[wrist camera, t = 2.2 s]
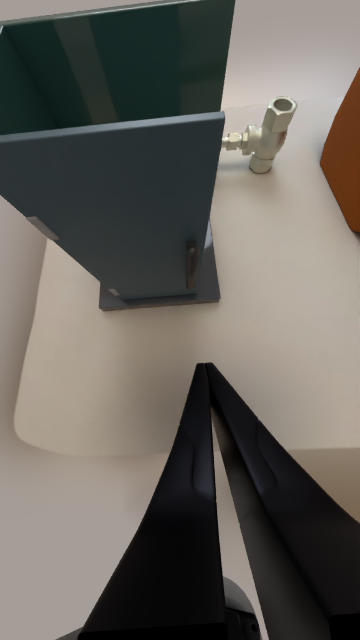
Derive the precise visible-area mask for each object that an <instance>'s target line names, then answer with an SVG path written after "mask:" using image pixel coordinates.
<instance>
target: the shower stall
mask: <svg viewBox="0 0 360 640" xmlns="http://www.w3.org/2000/svg"><path fill="white" fill-rule="evenodd" d="M234 6H235V0H163V1H155V2H148V3H140V4H133V5H124V6H116V7H109V8H101V9H94V10H85V11H77V12H70V13H62V14H54V15H46V16H38V17H30V18H23V19H15V20H7V21H0V135H9V134H18V133H28V132H37V131H46V130H55V129H64V128H74V127H83V126H92V125H101V124H110V123H120V122H129V121H138V120H147V119H156V118H165V117H175V116H184V115H193V114H202V113H211V112H220V109H221V102H222V94H223V87H224V80H225V72H226V65H227V57H228V50H229V43H230V36H231V28H232V21H233V14H234ZM219 300H220V292H219V284H218V277H217V270H216V262H215V255H214V248H213V240H212V233H211V226H210V219H209V223H208V229H207V235H206V241H205V247H204V253H203V260H202V266H201V272H200V278H199V284H198V290H197V294H186V295H174V296H161V297H149V298H136V299H123V300H121V299H119V298H118V297H117V296H115V295H114V294H113V293H112V292H110V291H109V289H108V288H107V287H106V286H104V285H103V284H102V283H101V282H100V298H99V309H101V310H103V311H109V310H122V309H135V308H148V307H161V306H174V305H186V304H199V303H212V302H219Z"/></svg>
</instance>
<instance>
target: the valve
mask: <svg viewBox="0 0 360 640" xmlns="http://www.w3.org/2000/svg"><path fill="white" fill-rule="evenodd" d="M296 108H297V103H296V102H295V101H294V100H293V99H292V98H289V97H284V96H281V97H276V98H274V99H272V101H271V103H270V104H269V106H268V108H267V111H266V114H265V117H264V121H263V124H262V126H261V127H260V128H256V125H248V126H247V128H246V131H245V132H244V133H242V134H241V136H238V134H239V133H231V134H228V137H226V138H222V142H221V148H224V147H226V150H236V148H237V147H239V150H241V149H242V155H250V154H251V152H254V153H253V154H252V158H251V161H250V164H249V167H250V168H251V169H252V170H253V171H254V172H256V173H265V172H268V170H269V168H270V166H271V164H272V162H273V160H274V158H275V155H276V154H277V153H278V152H279V150H280V149H281V147H282V146H283V144H284V141H285V139H286V135H287V127H288V125H289V123H290V121H291V119H292V117H293V115H294V112H295V110H296ZM220 151H221V149H220Z"/></svg>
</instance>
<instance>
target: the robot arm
mask: <svg viewBox="0 0 360 640" xmlns="http://www.w3.org/2000/svg"><path fill="white" fill-rule="evenodd" d="M211 416H212V420H213V424H214V427H215V431H216V435H217V439H218V443H219V447H220V451H221V455H222V458H223V462H224V466H225V470H226V474H227V478H228V482H229V486H230V490H231V494H232V497H233V501H234V505H235V509H236V513H237V517H238V521H239V523H240V529H241V533H242V536H243V540H244V544H245V548H246V552H247V556H248V560H249V564H250V568H251V571H252V575H253V579H254V583H255V587H256V590H257V595H258V598H259V602H260V606H261V610H262V614H263V618H264V622H265V626H266V629H267V634H268V637H269V640H360V523H359V522H358V521H356V520H355V519H354V518H353V517H351V516H350V515H349V514H348V513H347V512H346V511H345V510H344V509H342V508H341V507H340V506H339V505H338V504H337V503H336V502H335V501H334V500H333V499H332V498H331V497H330V496H329V495H328V494H327V493H326V492H325V491H324V490H323V489H322V488H321V487H320V486H319V485H318V483H317V482H316V481H315V480H314V479H313V478H312V477H311V476H310V475H309V474H308V473H307V472H306V471H305V470H304V469H303V468H302V467H301V466H300V465H299V464H298V463H297V462H296V461H295V460H294V459H293V458H292V456H291V455H290V454H289V453H288V452H287V451H286V450H285V449H284V448H283V447H282V446H281V445H280V444H279V443H278V441H277V440H276V439H275V438H274V437H273V436H272V434H271V433H270V432H269V431H268V430H267V429H266V427H265V426H264V425H263V424H262V422H261V421H260V420H258V418H257V416H256V415H255V414H254V413H253V412H252V410H251V409H250V408H249V407H248V405H247V404H246V403H245V402H244V401H243V399H242V398H241V397H240V396H239V395H238V393H237V392H236V391H235V390H234V388H233V387H232V386H231V385H230V384H229V382H228V381H227V380H226V379H225V377H224V376H223V375H222V374H221V373H220V371H219V370H218V369H217V368H216V366H215V365H214V364H213V363H212V362H209V363H205V364H204V363H197V365H196V368H195V372H194V375H193V379H192V382H191V386H190V389H189V393H188V396H187V400H186V403H185V407H184V410H183V414H182V417H181V420H180V425H179V427H178V430H177V434H176V437H175V440H174V443H173V446H172V449H171V452H170V454H169V457H168V460H167V463H166V465H165V467H164V470H163V472H162V475H161V477H160V479H159V482H158V485H157V487H156V489H155V492H154V494H153V496H152V499H151V501H150V504H149V506H148V508H147V511H146V513H145V515H144V517H143V519H142V521H141V523H140V526H139V528H138V530H137V532H136V534H135V535H134V537H133V539H132V541H131V543H130V545H129V546H128V548H127V550H126V551H125V553H124V555H123V557H122V559H121V560H120V562H119V564H118V566H117V568H116V569H115V571H114V573H113V575H112V576H111V578H110V580H109V582H108V584H107V585H106V587H105V589H104V591H103V593H102V594H101V596H100V598H99V599H98V601H97V603H96V605H95V607H94V609H93V610H92V612H91V614H90V615H89V617H88V619H87V621H86V623H85V625H84V626H83V627H81V628H79V629H77V630H75V631H73V632H71V633H69V634H67V635H65V636H62V637H60V638H58V639H56V640H260V629H259V624H258V620H257V617H256V615H255V614H254V613H251V612H246V611H242V610H237V609H232V608H227V607H225V596H224V585H223V575H222V565H221V553H220V543H219V531H218V519H217V503H216V487H215V469H214V453H213V436H212V420H211Z"/></svg>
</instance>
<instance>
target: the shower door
mask: <svg viewBox="0 0 360 640" xmlns="http://www.w3.org/2000/svg"><path fill="white" fill-rule="evenodd" d="M224 124H225V115H224V112H223V111H221V112H211V113H202V114H193V115H184V116H175V117H165V118H156V119H147V120H138V121H129V122H120V123H110V124H101V125H92V126H83V127H74V128H64V129H55V130H46V131H37V132H28V133H18V134H9V135H0V195H1V196H2V197H3V198H4V199H6V200H7V201H8V202H9V203H10V204H11V205H13V206H14V207H15V208H16V209H17V210H18V211H19V212H21V213H22V214H23V215H24V216H25V217H26V219H27V220H28V221H29V222H31V224H33V225H34V226H35V227H36V228H37V229H39V230H40V231H41V232H42V233H43V234H44V235H45V236H47V237H48V238H49V239H50V240H53V241H54V242H55V243H56V244H57V245H58V246H60V247H61V248H62V249H63V250H64V251H65V252H67V253H68V254H69V255H70V256H71V257H72V258H73V259H75V260H76V261H77V262H78V263H79V264H80V265H81V266H83V267H84V268H85V269H86V270H87V271H88V272H90V273H91V274H92V275H93V276H94V277H95V278H96V279H98V280H99V281H100V282H101V283H102V284H103V285H104V286H106V287H107V288H108V289H109V291H110V292H112V293H113V294H114V295H115V296H117V297H118V298H119V299H121V300H123V299H136V298H149V297H161V296H174V295H186V294H197V290H198V284H199V278H200V272H201V266H202V260H203V253H204V247H205V241H206V235H207V229H208V223H209V216H210V210H211V204H212V198H213V192H214V186H215V179H216V173H217V167H218V161H219V155H220V149H221V142H222V136H223V130H224Z"/></svg>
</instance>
